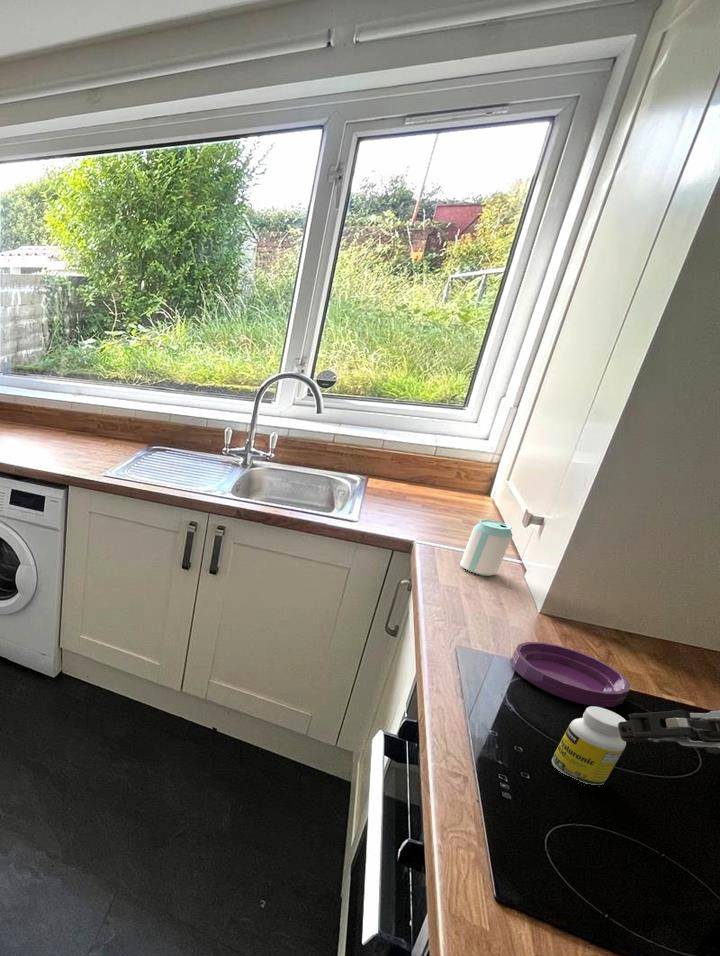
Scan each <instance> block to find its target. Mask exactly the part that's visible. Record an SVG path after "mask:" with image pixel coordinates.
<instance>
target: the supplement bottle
mask: <svg viewBox="0 0 720 956" xmlns="http://www.w3.org/2000/svg"><path fill="white" fill-rule="evenodd" d="M624 721H627V720H626V719H625V718H624V717H622V716H621V715H620V714H618V713H616V712H614V711H612V710H609V709H606V708H605V707H597V706H592V705H591V706H588V707H586V708H585V710H584V712H583V714H582V717H579V718H575V719H573V720H572V721H571V722H570V723H569V725H568V727H567V729H566V730H565V732H564V734H563V736H562V738H561V740H560V742H559V744H558V746H557V748H556V750H555V751H554V754H553V755H552V758H551V765H552V766H553V767H554V769H555V768H556V769H557V770H558V771H560V772H561V773H563V774H565V775H567V776H570V777H572V778H574V779H576V780H579V781H580V782H583V783H585V784H591V785H602V784H603V785H604V784H605V783H606V781H607V779H608V778H609V776H610V774H611V773H612V771H613V769H614V767H615V766H616V764H617V762H618V761H619V759H620V757H621V756H622V753H623V752H624V750H625V748H626V747H627V742H626V741H623V740H622V739H621V736H620V732H619V728H618V724H619V722H624ZM556 769H555V770H556ZM557 770H556V771H557ZM558 771H557V772H558ZM560 772H559V773H560ZM561 773H560V774H561ZM603 785H602V786H603Z"/></svg>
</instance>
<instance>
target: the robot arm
mask: <svg viewBox="0 0 720 956" xmlns="http://www.w3.org/2000/svg"><path fill="white" fill-rule="evenodd" d="M628 718H629V720H626V721H624V722H619V724H618V728H619V732H620V736H621V739H622V740H623V741H626V743H645V742H646V743H647V742H652V743H660V742H665V743H677V744H679V745H681V746H683V747H685V748H692V749H705V750H706V752H707V753H709V754H713V755H720V710H711V711H709V712H690V711H688V710H684V709H676V710H667V711H664V710H663V711H654V712H653V711H651V712H640V713H637V712H635V713H629V714H628ZM696 733H697V735H696ZM697 736H698V738H699V739H700V740H701V741H700V740H697V741H695V740H692V739H691V738H692V737H693V738H695V737H697Z"/></svg>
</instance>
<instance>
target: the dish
mask: <svg viewBox="0 0 720 956" xmlns="http://www.w3.org/2000/svg"><path fill="white" fill-rule="evenodd" d="M509 661H510V665H511V666H512V669H513V670H514V671H515V672H516V673H517V674H518V675H520V677H521V678H522V679H524V680H526V681H528V682H529V683H530V684H532V685H534V686H535V687H537V688H538V689H540V690H542V691H544V692H546V693H548V694H551V695H553V696H555V697H558V698H561V699H564V700H566V701H570V702H573V703H577V704H580V705H587V706H591V707H592V706H593V707H600V708H614V707H616V706H619V705H622V704H623V703H624V701H625V699H626V698H627V696H628V694H629V692H630V688H631V683H630V682H629V680H628V679H627V678H626V676H625V675H624V674H622V673H621V672H619V670H617V669H616V668H614V667H613V666H611V665H610V664H608V663H606V662H604V661H602V660H600V659H598V658H596V657H595V656H591V655H589V654H586V653H585V652H584V653H583V652H581V651H579V650H576V649H572V648H569V647H565V646H562V645H559V644H554V643H547V642H543V641H542V642H541V641H526V642H522V643H518V645H517V646H516V647H515V650H514V652H513V654H512V656H511V659H510V660H509Z"/></svg>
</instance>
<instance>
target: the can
mask: <svg viewBox="0 0 720 956" xmlns="http://www.w3.org/2000/svg"><path fill="white" fill-rule="evenodd" d="M512 538H513V532H512V526H511V525H509V524H507V523H505V522H501V521H498V520H493V519H481V520H480V521H479V523H477V524H476V525H474V526H473V529H472V531H471V534H470V536H469V539H468V542H467V545H466V547H465V550H464V553H463V555H462V557H461V560H460V563H459V565H460V566H461V568H463V569H464V568H465V569H466V570H465V569H464V570H465V571H466V572H468V573H471V572H473V573H472V574H474V573H476V574H474V575H477V576H483V577H491V576H494V575H497V574H498V572H499V570H500V567H501V565H502V563H503V560H504V557H505V555H506V553H507V550H508V548H509V545H510V543H511V541H512ZM467 570H468V571H467ZM469 571H471V572H469ZM478 574H479V575H478Z"/></svg>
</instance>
